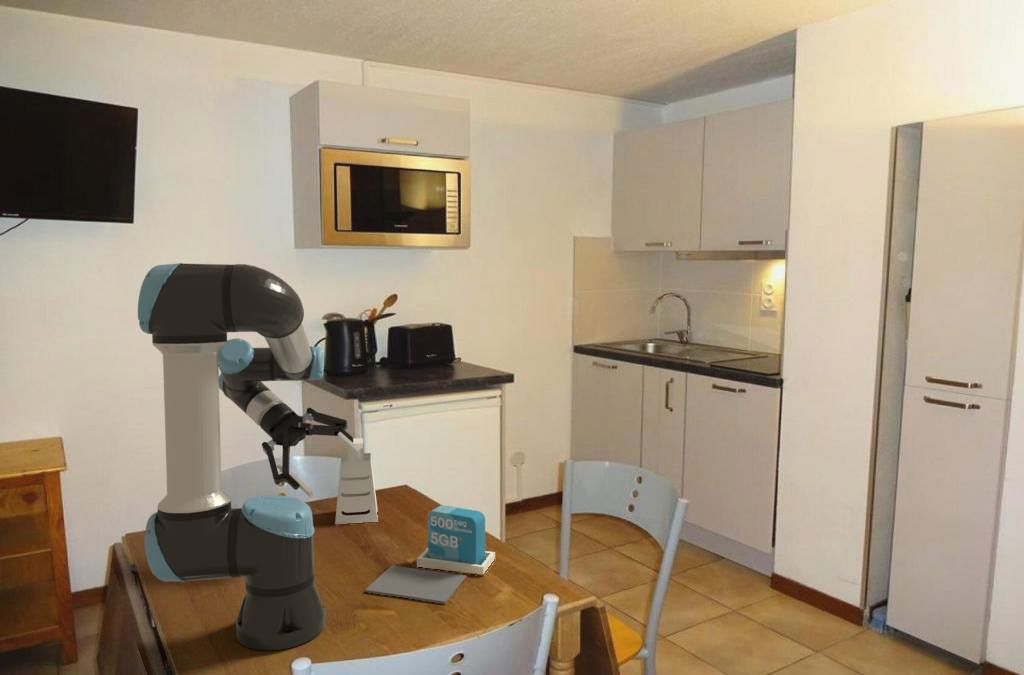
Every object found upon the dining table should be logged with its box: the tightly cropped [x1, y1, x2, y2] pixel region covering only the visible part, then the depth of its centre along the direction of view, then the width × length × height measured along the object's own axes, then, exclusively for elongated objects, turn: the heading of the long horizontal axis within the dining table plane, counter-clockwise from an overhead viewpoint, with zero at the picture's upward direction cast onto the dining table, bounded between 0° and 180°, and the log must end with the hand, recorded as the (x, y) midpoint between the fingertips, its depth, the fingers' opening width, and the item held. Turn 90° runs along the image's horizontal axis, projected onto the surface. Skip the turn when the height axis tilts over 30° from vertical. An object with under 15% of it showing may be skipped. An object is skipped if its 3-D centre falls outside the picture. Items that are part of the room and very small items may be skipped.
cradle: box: [416, 547, 496, 574], centre depth 154 cm, size 8×15×2 cm, turn 74°
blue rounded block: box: [427, 504, 486, 565], centre depth 154 cm, size 12×4×12 cm, turn 65°
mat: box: [364, 565, 467, 605], centre depth 144 cm, size 12×17×1 cm
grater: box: [334, 437, 379, 525], centre depth 182 cm, size 10×10×20 cm
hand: (336, 473), depth 155 cm, fingers open, 13 cm apart
